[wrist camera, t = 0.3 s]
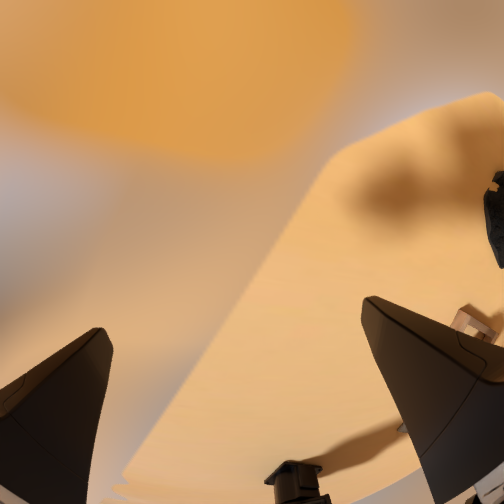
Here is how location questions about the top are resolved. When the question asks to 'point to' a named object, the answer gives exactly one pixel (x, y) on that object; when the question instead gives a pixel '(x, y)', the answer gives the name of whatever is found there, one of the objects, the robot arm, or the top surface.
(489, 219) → the black irregular lumpy piece
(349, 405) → the top surface
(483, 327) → the holder frame
